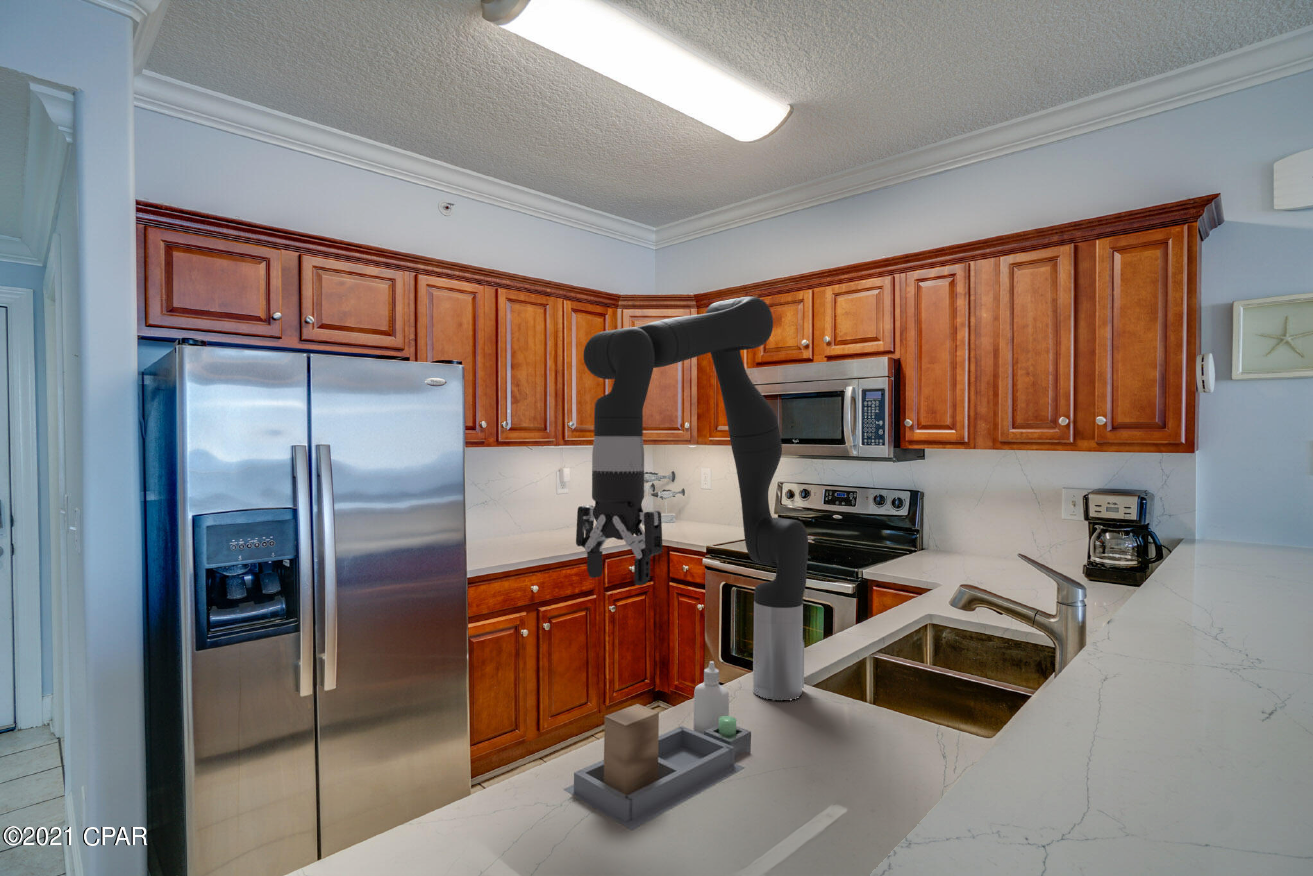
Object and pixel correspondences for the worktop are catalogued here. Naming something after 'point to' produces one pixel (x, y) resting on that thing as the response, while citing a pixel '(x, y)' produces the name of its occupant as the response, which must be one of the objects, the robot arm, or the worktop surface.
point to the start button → (727, 726)
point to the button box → (733, 739)
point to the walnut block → (631, 749)
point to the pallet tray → (660, 778)
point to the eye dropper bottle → (709, 701)
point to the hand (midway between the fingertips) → (617, 580)
